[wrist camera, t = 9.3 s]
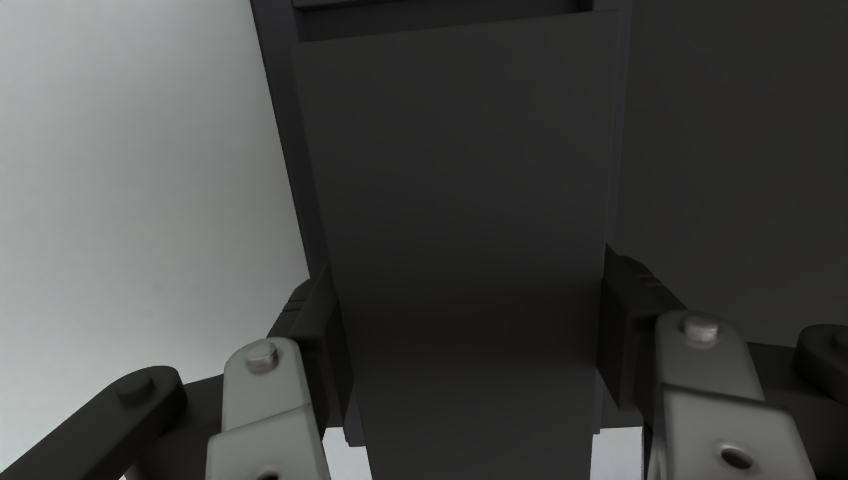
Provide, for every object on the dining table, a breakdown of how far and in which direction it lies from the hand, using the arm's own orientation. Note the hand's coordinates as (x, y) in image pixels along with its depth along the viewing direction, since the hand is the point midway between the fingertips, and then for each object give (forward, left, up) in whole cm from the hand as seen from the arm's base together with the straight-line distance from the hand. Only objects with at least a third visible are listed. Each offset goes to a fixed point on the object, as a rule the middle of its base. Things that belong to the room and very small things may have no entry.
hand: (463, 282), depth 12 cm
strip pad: (0, 0, -1) cm, 1 cm away
